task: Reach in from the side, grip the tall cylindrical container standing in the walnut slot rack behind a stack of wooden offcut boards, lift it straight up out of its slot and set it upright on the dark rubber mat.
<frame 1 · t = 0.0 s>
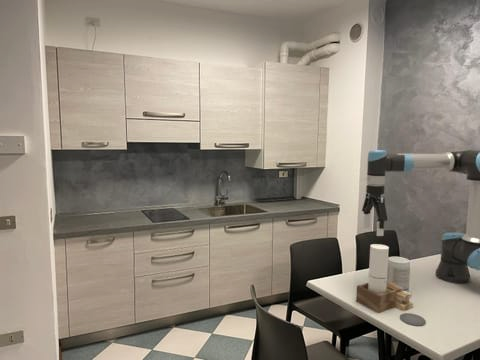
hand: (373, 231, 160), 28 cm above the table, tool pointing down, fingers open, 13 cm apart
offcut rack: (384, 304, 150), on the table
cylindrical container: (376, 304, 151), resting in offcut rack
rubber mat: (412, 320, 137), on the table
supplement tub: (397, 290, 165), on the table
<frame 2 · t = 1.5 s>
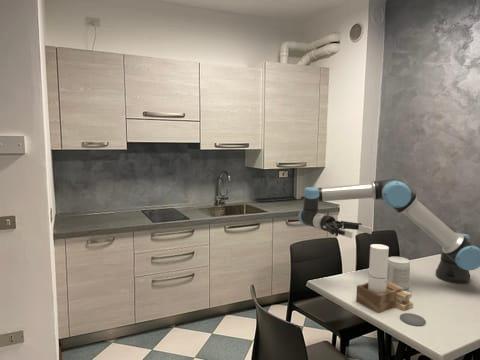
hand: (361, 232, 155), 29 cm above the table, tool horizontal, fingers open, 13 cm apart
nothing on the table moved.
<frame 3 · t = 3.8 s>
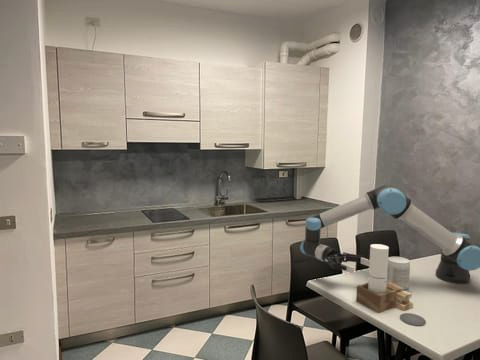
hand: (363, 267, 154), 14 cm above the table, tool horizontal, fingers open, 13 cm apart
nothing on the table moved.
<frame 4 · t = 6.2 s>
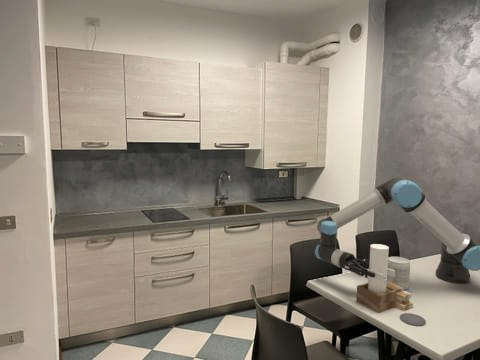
hand: (388, 275, 145), 14 cm above the table, tool horizontal, fingers closed on cylindrical container, 7 cm apart
cylindrical container: (376, 304, 151), resting in offcut rack, touching gripper
everything else where it was.
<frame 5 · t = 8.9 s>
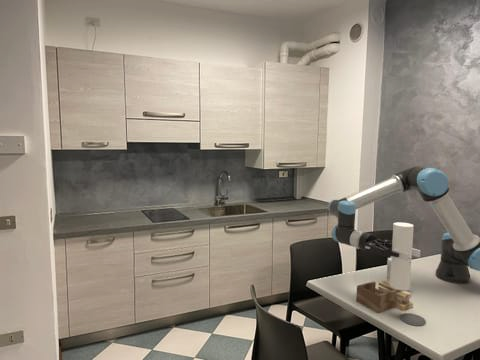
hand: (413, 255, 134), 26 cm above the table, tool horizontal, fingers closed on cylindrical container, 7 cm apart
cylindrical container: (399, 286, 140), point 11 cm above the table, touching gripper
everything else where it was.
when the fingers open (16 cm above the table, at t = 11.7 s): cylindrical container drops 1 cm, resting on rubber mat.
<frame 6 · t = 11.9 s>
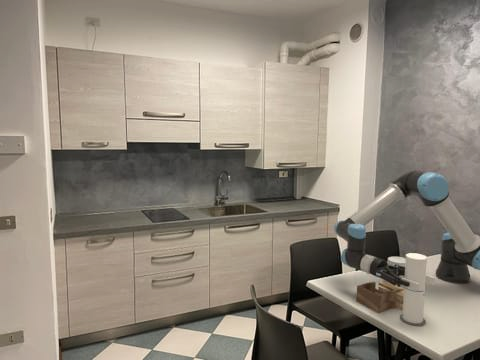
hand: (426, 284, 132), 16 cm above the table, tool horizontal, fingers open, 10 cm apart
cylindrical container: (412, 319, 137), resting on rubber mat
everything else where it was.
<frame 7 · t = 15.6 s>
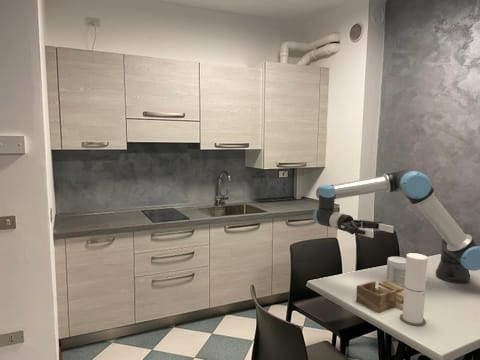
hand: (383, 232, 146), 31 cm above the table, tool horizontal, fingers open, 13 cm apart
nothing on the table moved.
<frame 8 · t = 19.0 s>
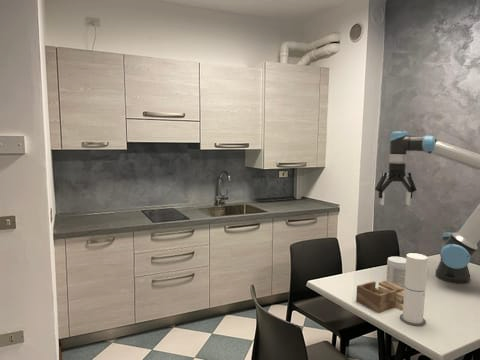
hand: (394, 204, 179), 37 cm above the table, tool pointing down, fingers open, 13 cm apart
nothing on the table moved.
at the end: cylindrical container inside the target area on the rubber mat (0.0 cm from its centre), point 0.3 cm above the rubber mat's base; cylindrical container tilted 0°; the gripper is holding nothing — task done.
